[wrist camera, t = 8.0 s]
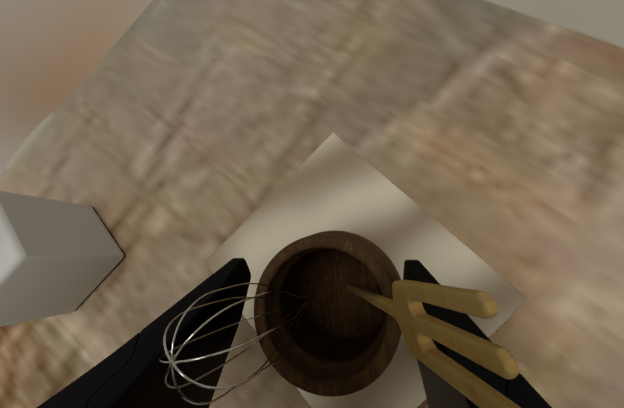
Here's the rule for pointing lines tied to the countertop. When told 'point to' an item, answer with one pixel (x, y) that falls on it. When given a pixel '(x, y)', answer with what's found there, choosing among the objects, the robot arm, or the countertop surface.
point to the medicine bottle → (49, 256)
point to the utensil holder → (354, 322)
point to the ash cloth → (378, 229)
